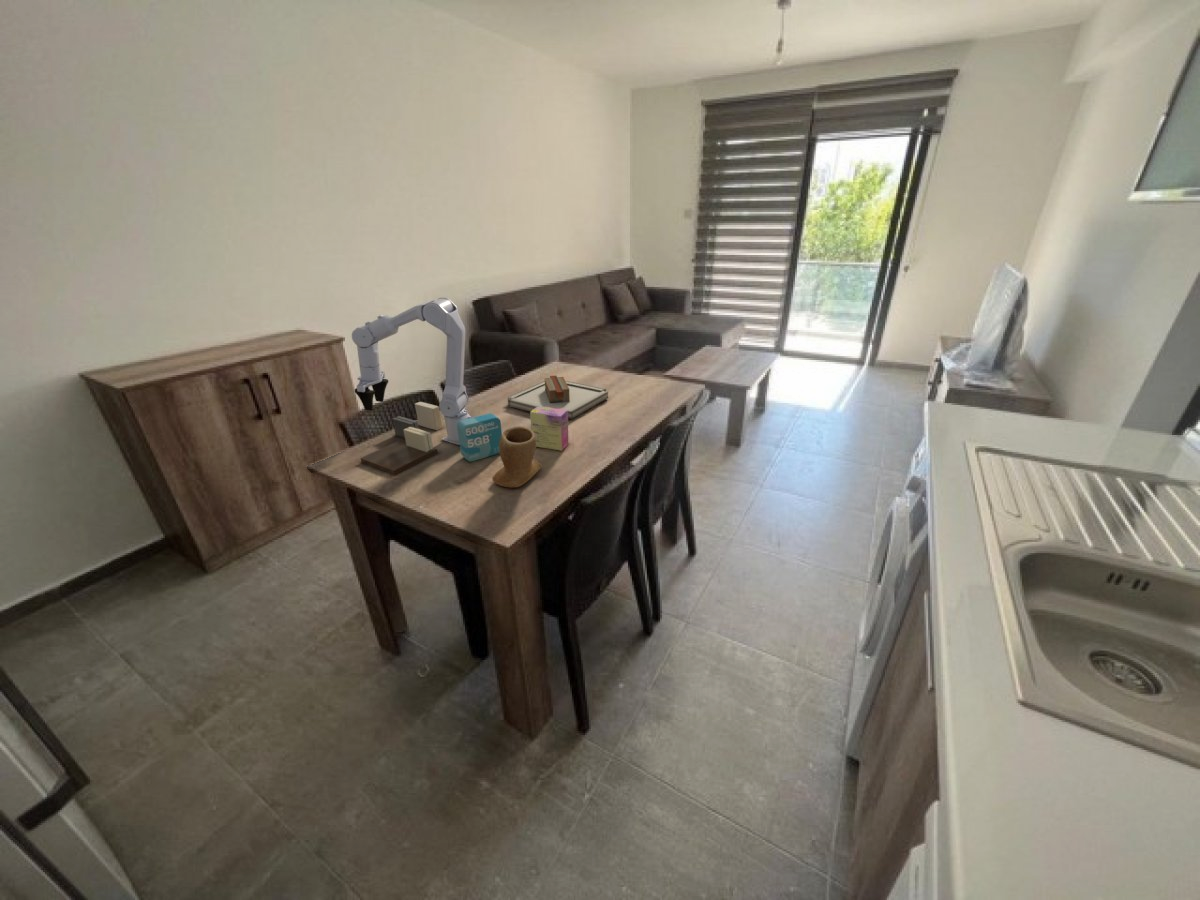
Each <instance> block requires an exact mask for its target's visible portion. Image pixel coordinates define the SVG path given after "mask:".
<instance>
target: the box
mask: <svg viewBox="0 0 1200 900" xmlns="http://www.w3.org/2000/svg"><path fill="white" fill-rule="evenodd" d="M529 414H530V416H529V417H530V429H531V430H532V431H533V432H534V433H535V436H536V448H542V449H547V450H548V449H550V450H555V451H559V452H562V451H563V450H564V449H565V448H566V447H567V446H568V445H569V418H568V410H562V409H554V408H547V407H540V406H538V407H536V408H535V409H534V410H532V411H531V412H529Z"/></svg>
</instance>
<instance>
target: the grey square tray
mask: <svg viewBox="0 0 1200 900" xmlns="http://www.w3.org/2000/svg"><path fill="white" fill-rule="evenodd" d="M607 399H609V392H608V391H607V388H603V387H597V386H593V385H588V384H584V383H578V382H574V381H570V380H565V378H564V376H557V375H550V376H549V377H545V378H544V380H543V381H540V382H539V383H536V384H534V385H531V386H530V387H527V388H525V389H522V390H519V391H518V392H515V393H513V394H511V395H508V396H507V404H508V407H510V408H514V409H518V410H520V411H521V410H522V411H526V412H529V413H530V412H531V411H532V410H534V409H535V408H536V407H538V406H540V407H547V408H554V409H562V410H568V419H569V420H572V419H574V418H575V417H578V416H579V415H581V414H583V413H584V412H586V411H588V410H589V409H592V408H593V407H595V406H597V405H599V404H601V403H602V402H603V401H605V400H607Z"/></svg>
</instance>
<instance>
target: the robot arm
mask: <svg viewBox="0 0 1200 900" xmlns="http://www.w3.org/2000/svg"><path fill="white" fill-rule="evenodd" d="M376 317H377V319H374V320H373V321H366V322H365V323H364V325H362V326H360V327H359V326H358V327H356V328H355V329H353V330H352V333H351V340H352V342H353V343H354V344H355V345H356V349H357V358H358V364H359V365H358V366H359V372H360V376H357V381H359V382H358V383H357V385H356V388H355V389H354V394H355V395H357V397H358V399H359V400H360V402H361V403H362V406H363V408H364V410H365V411H373V409H374V399H375V402H380V403H381V402H382V403H383V402H384V400H385V399H384V398H385V393H386V388H387V386H388V384H389V379H388V378H386V373H385V371H383V370H381V363H380V355H379V342H380V341H382V340H385V339H387V338H389V337H391V336H393V335H396V334H398V332H399V328H400V327H401V326H404V325H407V324H409V323H411V322H413V321H416V320H419V321H420V322H427V323H428V324H429V325H431V326H433V327H435V328H436V329H438V330H439V331H441V332H442V333H443V334H444V335H446V353H445V354H446V360H445V365H446V366H445V386H444V389H443V392H442V398H441V400H440V402H439V405H438V406H439V411H440V414H442V415H443V416H444V422H445V429H446V434H447V435H446V436H444V437H442V438H441V440H442V441H445V442H447V443H451V444H454V445H458V446H460V443H459V437H458V430H457V424H458V422H459V421H461V420H465V419H469V418H473V417H474V416H471V415H470V414H469V413H468V409H467V405H468V403H469V397H468V394H467V387H466V386H465V385H464V375H465V374H464V373H465V352H466V351H465V349H466V331H467V330H466V327H465V325H464V322H463V320H462V318H461V316H460V314H459V308H458V306H457V305H456V304H455V303H454V302H453V301H452V300H451V299H449V298H447V297H438V298H437V299H436V300H435V299H433V300H429V301H425V302H422V303H419V304H416V305H414V306H412V307H410V308H408V309H407V310H405V311H402V312H401V313H399V314H397V315H395V316H392V315H388V314H385V315H384V314H381V315H378V316H376ZM370 387H371V388H372V389H370Z"/></svg>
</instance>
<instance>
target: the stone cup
mask: <svg viewBox="0 0 1200 900" xmlns="http://www.w3.org/2000/svg"><path fill="white" fill-rule="evenodd" d="M536 450H537V447H536V436H535V433H534V432H533V431H532V430H531V428H529V427H527V426H522V425H521V426H520V425H519V426H517V425H516V426H512V427H508V428H506V429H505V430H504V431H502V435H501V437H500V442H499V452H500V453H499V456H500V459H501V462H502V464H503V466H502V467H501V468H500V469H499V470H497V472H495V473H494V474H493V476H492V478H491V479H492V481H493V482H494V483H495V484H496V485H498V486H501V487H504V488H519V487H522V486H523V485H525V484H526V483H528V482H529V481H530V480H531V479H532V478H533V477H534V476H535V475H536V474H537V473H538V472H539V471H540V470H541V469H542V468H543V466H542V464H541V463H540V462H539V461H538V460H537V459H535V458H534V456H535V453H536Z"/></svg>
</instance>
